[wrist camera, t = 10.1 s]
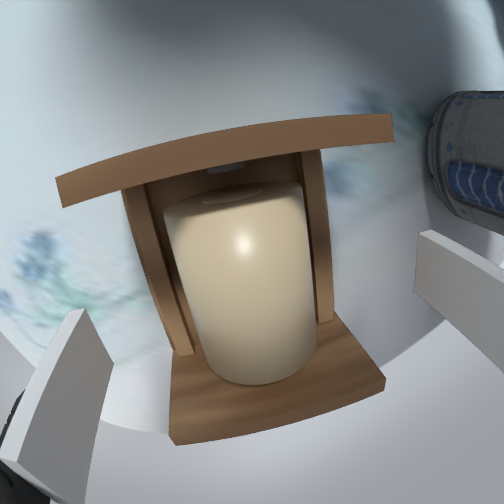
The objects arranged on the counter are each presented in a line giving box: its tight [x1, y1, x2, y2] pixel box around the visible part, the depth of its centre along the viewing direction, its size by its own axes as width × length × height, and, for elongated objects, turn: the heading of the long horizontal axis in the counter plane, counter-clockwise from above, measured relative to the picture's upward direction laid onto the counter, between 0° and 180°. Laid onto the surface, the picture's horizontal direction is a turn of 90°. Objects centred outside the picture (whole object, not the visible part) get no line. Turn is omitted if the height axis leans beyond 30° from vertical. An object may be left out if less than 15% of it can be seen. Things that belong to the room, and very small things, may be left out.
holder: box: [55, 114, 394, 446], centre depth 14 cm, size 13×11×8 cm
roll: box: [163, 181, 317, 385], centre depth 14 cm, size 8×6×6 cm
